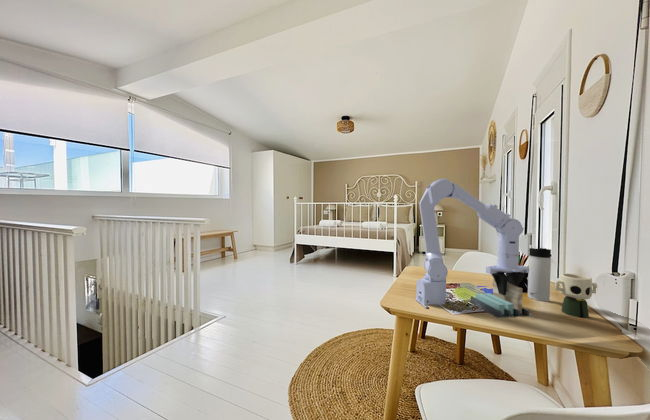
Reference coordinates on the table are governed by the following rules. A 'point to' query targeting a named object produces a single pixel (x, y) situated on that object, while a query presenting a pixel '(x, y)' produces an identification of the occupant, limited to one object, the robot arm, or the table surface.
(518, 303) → the birch sheet
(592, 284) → the character mug
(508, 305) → the offcut
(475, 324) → the table surface
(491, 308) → the rack
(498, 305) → the offcut
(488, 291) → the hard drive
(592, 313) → the table surface
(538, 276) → the travel mug
